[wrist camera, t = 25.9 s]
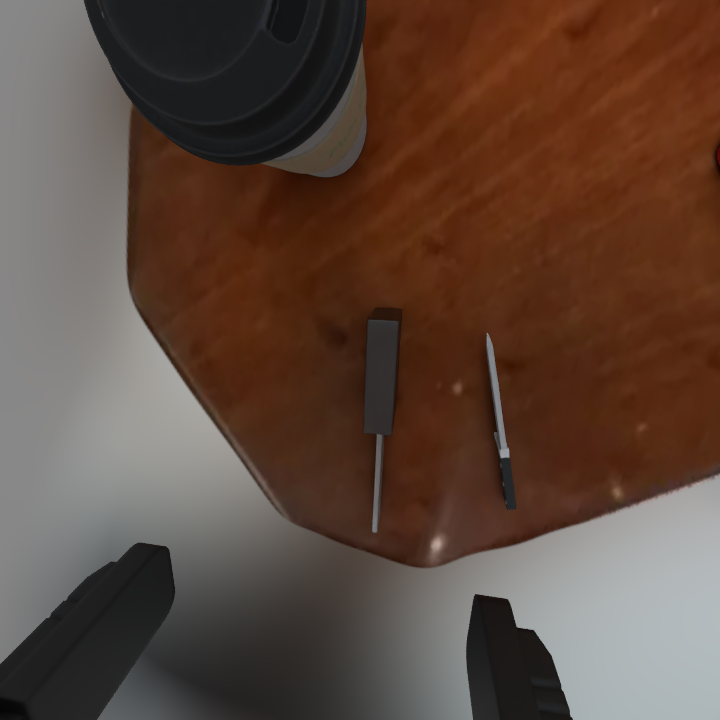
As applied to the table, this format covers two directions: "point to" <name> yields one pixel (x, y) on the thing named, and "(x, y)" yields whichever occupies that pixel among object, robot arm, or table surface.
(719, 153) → the popsicle
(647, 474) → the table surface
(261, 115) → the coffee cup
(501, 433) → the knife
